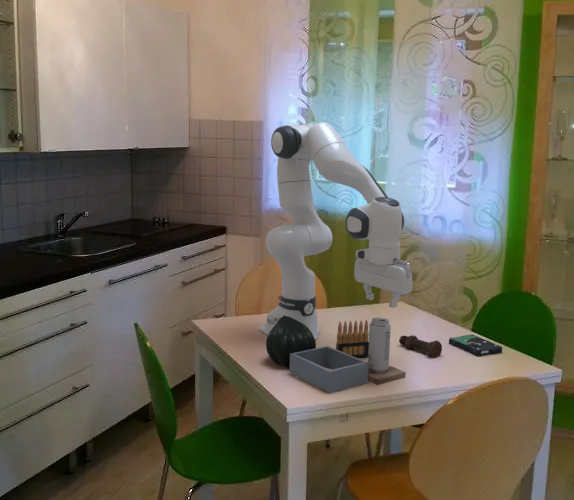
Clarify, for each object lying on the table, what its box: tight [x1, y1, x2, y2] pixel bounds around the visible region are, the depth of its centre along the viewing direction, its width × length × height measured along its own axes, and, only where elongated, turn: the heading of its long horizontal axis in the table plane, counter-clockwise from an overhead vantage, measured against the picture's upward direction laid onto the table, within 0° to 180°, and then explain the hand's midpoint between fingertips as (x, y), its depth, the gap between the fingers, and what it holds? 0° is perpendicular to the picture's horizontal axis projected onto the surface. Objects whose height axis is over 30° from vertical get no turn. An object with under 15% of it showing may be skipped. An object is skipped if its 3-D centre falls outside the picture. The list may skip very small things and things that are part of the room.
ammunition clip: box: [335, 319, 369, 359], centre depth 211 cm, size 11×2×12 cm, turn 107°
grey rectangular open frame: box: [289, 345, 369, 394], centre depth 193 cm, size 18×14×6 cm
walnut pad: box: [368, 365, 407, 386], centre depth 197 cm, size 11×11×2 cm
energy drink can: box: [367, 317, 392, 373], centre depth 195 cm, size 6×6×15 cm
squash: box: [265, 315, 317, 367], centre depth 206 cm, size 14×15×15 cm
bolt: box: [398, 334, 443, 359], centre depth 219 cm, size 6×5×15 cm
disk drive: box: [448, 334, 503, 357], centre depth 224 cm, size 10×3×15 cm
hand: (381, 303), depth 193 cm, fingers open, 8 cm apart
